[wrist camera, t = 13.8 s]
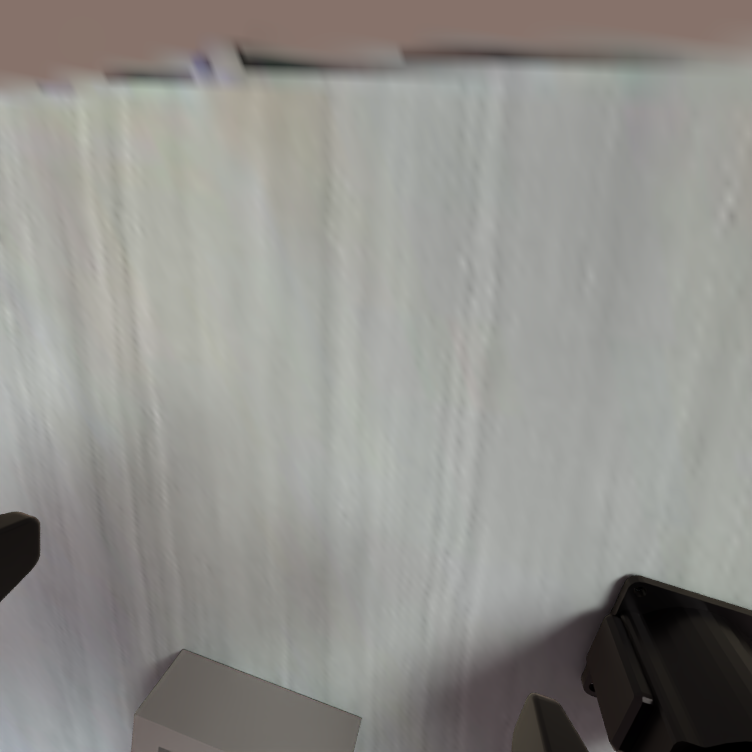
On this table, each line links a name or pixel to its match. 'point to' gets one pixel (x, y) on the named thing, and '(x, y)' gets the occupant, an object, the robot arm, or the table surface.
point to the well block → (235, 714)
